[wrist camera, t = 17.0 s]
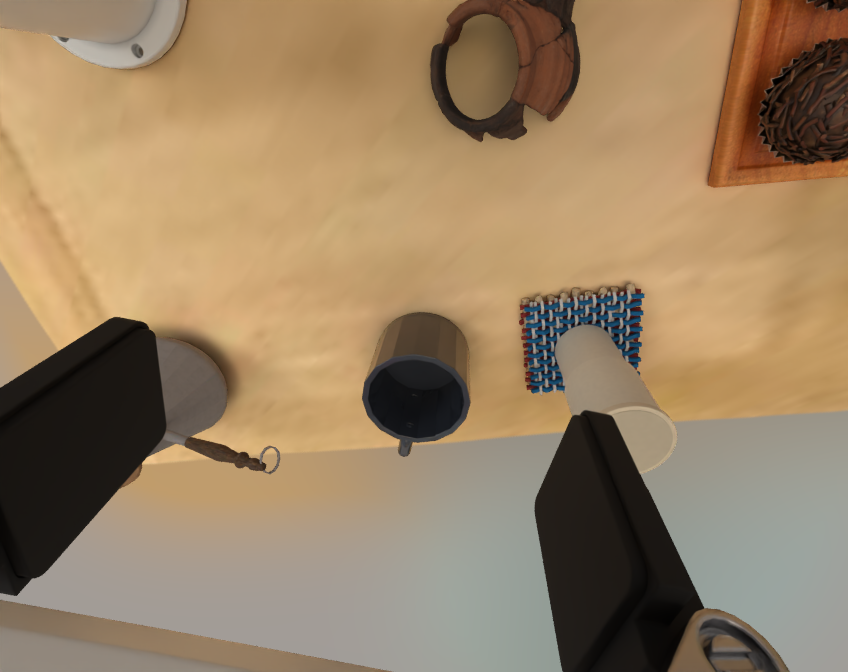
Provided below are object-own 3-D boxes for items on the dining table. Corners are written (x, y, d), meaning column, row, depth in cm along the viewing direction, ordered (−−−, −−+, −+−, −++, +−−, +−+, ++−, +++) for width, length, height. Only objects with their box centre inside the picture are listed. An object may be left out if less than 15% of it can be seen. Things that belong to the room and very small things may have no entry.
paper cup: (540, 370, 42) (568, 468, 31) (561, 313, 39) (601, 398, 28) (603, 382, 42) (653, 484, 31) (629, 326, 39) (694, 417, 28)
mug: (385, 303, 42) (369, 345, 35) (478, 322, 42) (481, 367, 35) (369, 404, 48) (353, 457, 41) (451, 420, 48) (448, 476, 41)
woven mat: (516, 294, 41) (518, 303, 39) (638, 278, 39) (646, 287, 37) (524, 388, 45) (526, 400, 44) (633, 377, 44) (640, 389, 42)
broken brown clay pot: (547, 158, 35) (500, 174, 30) (458, 96, 38) (397, 100, 32) (653, -20, 27) (618, -47, 22) (532, -87, 29) (470, -127, 24)
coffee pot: (158, 418, 51) (53, 529, 38) (113, 329, 46) (-27, 423, 33) (337, 407, 48) (290, 523, 35) (311, 312, 43) (245, 407, 30)
